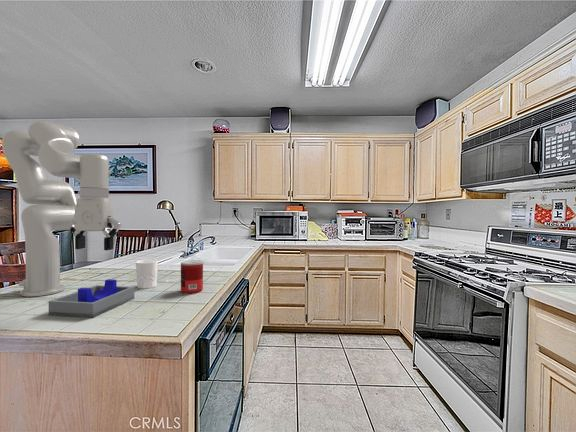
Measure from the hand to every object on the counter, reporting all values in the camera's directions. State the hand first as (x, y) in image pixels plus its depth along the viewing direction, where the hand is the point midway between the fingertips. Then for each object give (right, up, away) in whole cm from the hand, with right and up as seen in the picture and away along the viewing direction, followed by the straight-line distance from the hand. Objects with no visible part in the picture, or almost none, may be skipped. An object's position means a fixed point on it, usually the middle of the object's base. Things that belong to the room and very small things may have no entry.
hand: (94, 249), depth 92 cm
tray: (0, -18, 0) cm, 18 cm away
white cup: (+5, -18, +24) cm, 30 cm away
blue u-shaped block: (0, -17, 0) cm, 17 cm away
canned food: (+24, -18, +18) cm, 36 cm away
